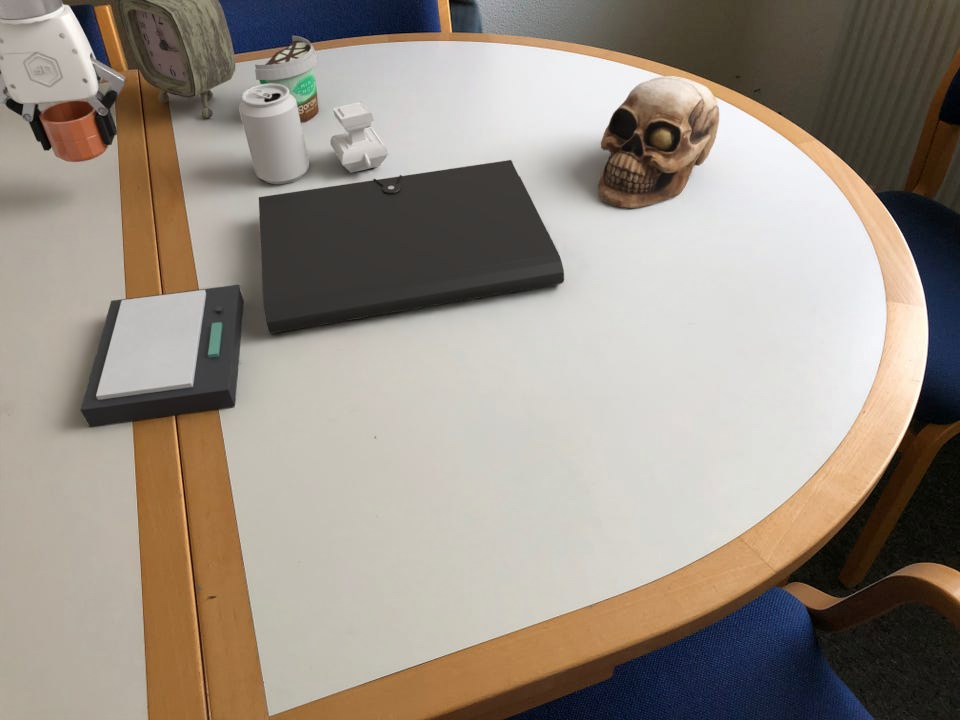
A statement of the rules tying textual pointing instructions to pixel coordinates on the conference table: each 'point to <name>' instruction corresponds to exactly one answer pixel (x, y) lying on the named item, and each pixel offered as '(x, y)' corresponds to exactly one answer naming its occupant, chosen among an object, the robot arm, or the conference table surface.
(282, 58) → the food container
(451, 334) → the conference table surface
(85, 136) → the terracotta plant pot
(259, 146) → the can
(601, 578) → the conference table surface
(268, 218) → the file folder
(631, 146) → the beige skull model
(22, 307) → the conference table surface
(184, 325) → the scale
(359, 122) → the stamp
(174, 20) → the tabletop clock
